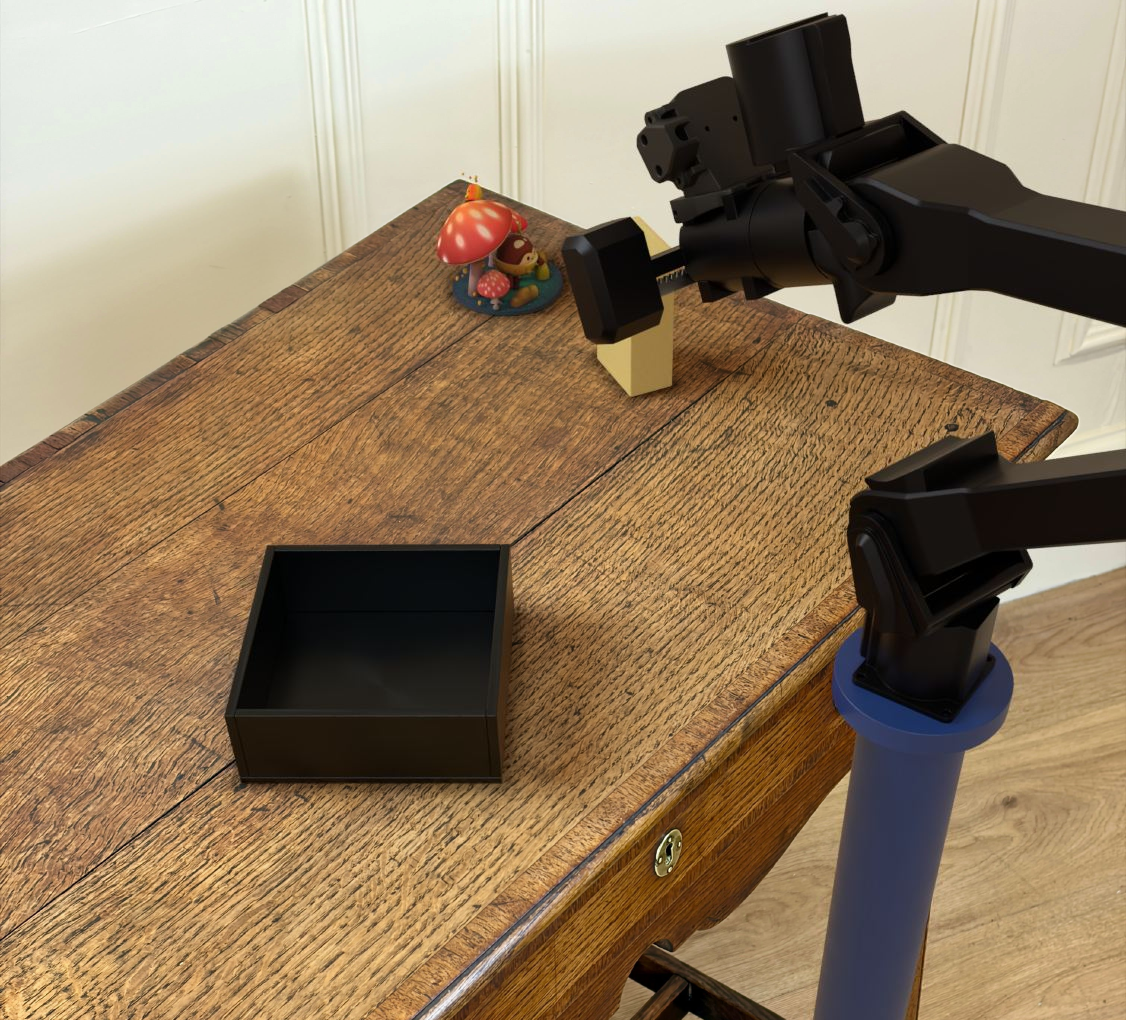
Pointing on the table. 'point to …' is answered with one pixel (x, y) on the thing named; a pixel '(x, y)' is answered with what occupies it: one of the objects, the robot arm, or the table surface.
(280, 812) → the table surface
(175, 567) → the table surface
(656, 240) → the block
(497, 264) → the figurine
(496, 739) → the bin
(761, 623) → the table surface
